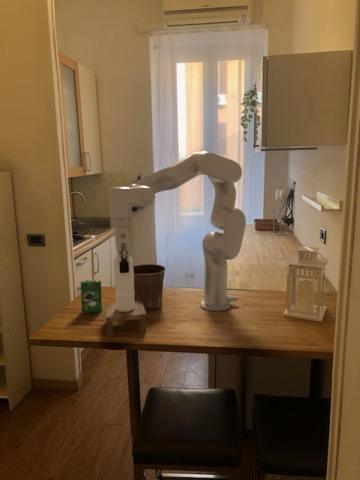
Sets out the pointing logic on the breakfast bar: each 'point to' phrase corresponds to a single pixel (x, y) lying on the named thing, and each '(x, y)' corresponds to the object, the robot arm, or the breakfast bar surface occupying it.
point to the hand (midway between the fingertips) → (123, 269)
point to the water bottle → (124, 286)
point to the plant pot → (149, 285)
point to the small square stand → (125, 315)
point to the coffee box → (91, 296)
